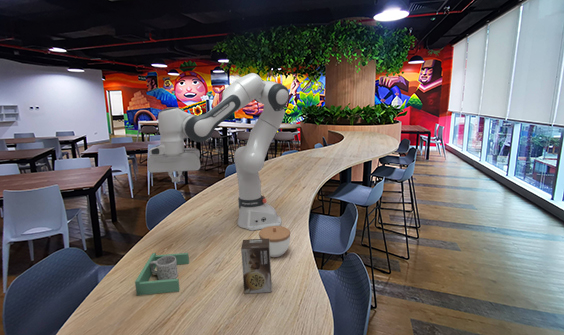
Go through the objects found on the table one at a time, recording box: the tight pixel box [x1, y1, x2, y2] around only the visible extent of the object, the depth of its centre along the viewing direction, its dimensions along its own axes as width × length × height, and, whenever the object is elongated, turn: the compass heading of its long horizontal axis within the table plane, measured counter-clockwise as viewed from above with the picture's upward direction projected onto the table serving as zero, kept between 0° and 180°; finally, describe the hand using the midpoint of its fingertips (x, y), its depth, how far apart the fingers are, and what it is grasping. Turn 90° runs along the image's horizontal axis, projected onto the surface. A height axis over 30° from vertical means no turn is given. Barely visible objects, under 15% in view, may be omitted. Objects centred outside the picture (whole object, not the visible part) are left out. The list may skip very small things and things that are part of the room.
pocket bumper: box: [134, 252, 190, 296], centre depth 104 cm, size 13×18×5 cm
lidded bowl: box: [258, 225, 291, 258], centre depth 119 cm, size 13×13×11 cm
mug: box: [150, 256, 179, 280], centre depth 104 cm, size 10×7×7 cm
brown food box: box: [240, 238, 273, 294], centre depth 96 cm, size 9×6×16 cm
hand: (176, 181), depth 121 cm, fingers closed
